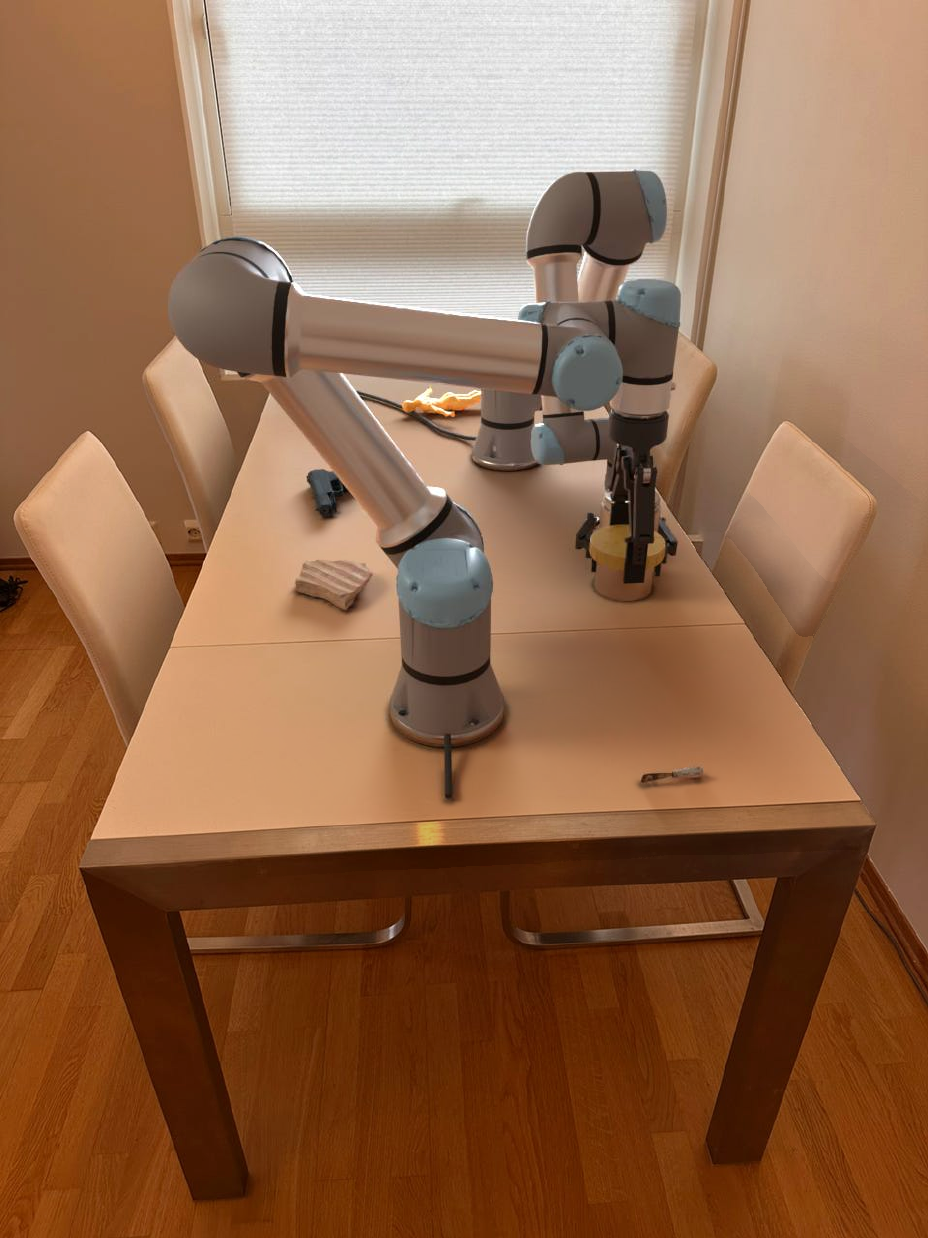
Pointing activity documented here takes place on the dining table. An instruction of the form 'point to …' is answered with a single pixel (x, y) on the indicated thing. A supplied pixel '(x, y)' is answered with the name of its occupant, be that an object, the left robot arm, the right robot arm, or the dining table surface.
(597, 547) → the lid
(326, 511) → the handgun
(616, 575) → the jar
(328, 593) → the stone
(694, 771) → the putty knife
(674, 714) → the dining table surface
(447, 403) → the human figure
